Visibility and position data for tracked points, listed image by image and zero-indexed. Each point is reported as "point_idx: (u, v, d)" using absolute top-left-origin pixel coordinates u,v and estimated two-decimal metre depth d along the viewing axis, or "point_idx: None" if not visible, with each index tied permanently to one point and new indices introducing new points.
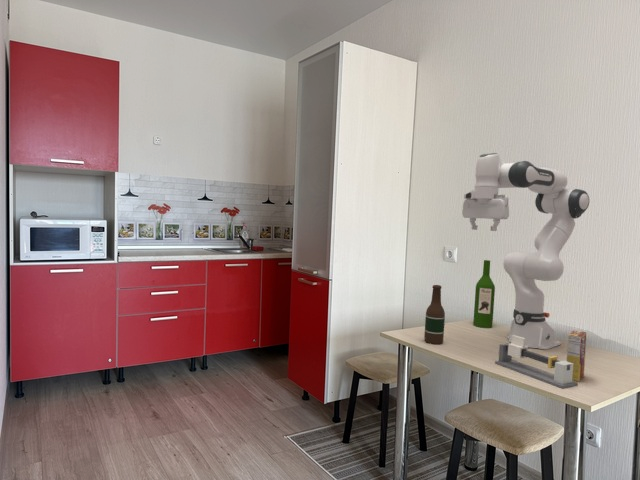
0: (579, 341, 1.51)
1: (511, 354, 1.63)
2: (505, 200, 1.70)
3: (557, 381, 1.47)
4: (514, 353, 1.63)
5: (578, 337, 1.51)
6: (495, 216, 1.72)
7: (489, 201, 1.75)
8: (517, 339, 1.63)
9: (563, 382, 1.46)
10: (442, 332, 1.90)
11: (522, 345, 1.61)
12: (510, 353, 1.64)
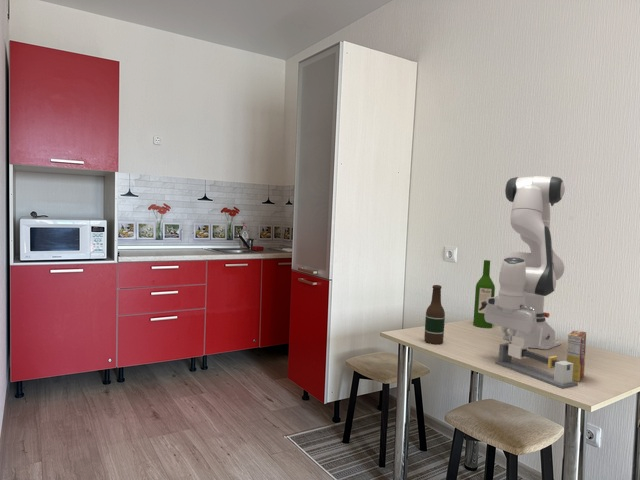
0: (579, 341, 1.51)
1: (511, 354, 1.63)
2: (533, 314, 1.58)
3: (557, 381, 1.47)
4: (514, 353, 1.62)
5: (578, 337, 1.51)
6: (521, 330, 1.60)
7: (515, 312, 1.62)
8: (518, 339, 1.63)
9: (563, 382, 1.46)
10: (442, 332, 1.90)
11: (522, 345, 1.61)
12: (510, 353, 1.64)
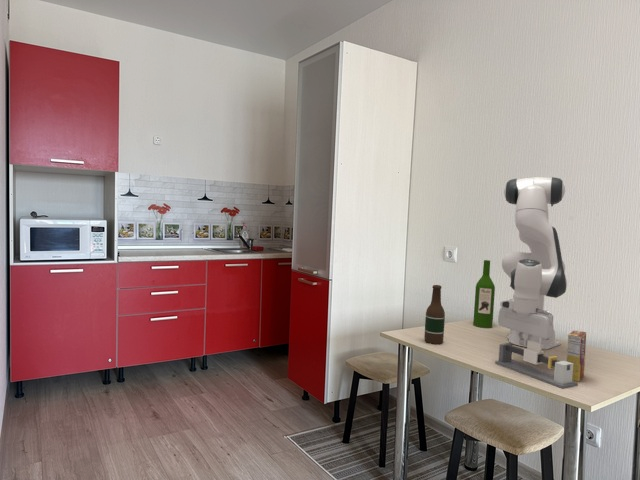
0: (579, 341, 1.51)
1: (527, 359, 1.58)
2: (549, 318, 1.52)
3: (557, 381, 1.47)
4: (530, 359, 1.57)
5: (578, 337, 1.51)
6: (538, 334, 1.54)
7: (530, 316, 1.57)
8: (534, 344, 1.57)
9: (563, 382, 1.46)
10: (442, 332, 1.90)
11: (538, 350, 1.56)
12: (526, 358, 1.58)
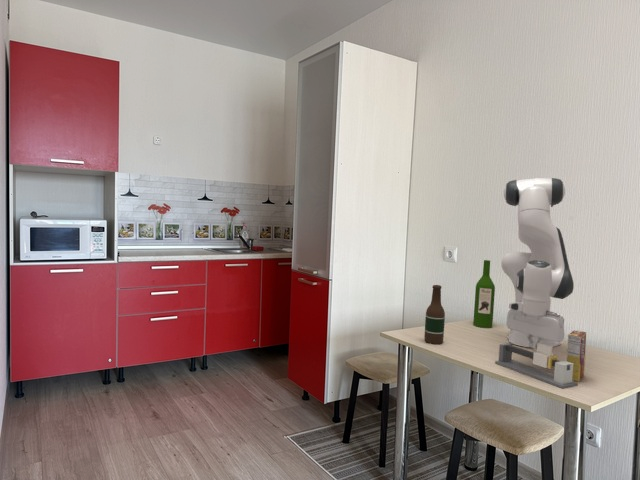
0: (579, 341, 1.51)
1: (537, 363, 1.55)
2: (560, 320, 1.49)
3: (557, 381, 1.47)
4: (540, 362, 1.54)
5: (578, 337, 1.51)
6: (548, 337, 1.51)
7: (540, 318, 1.54)
8: (543, 347, 1.54)
9: (563, 382, 1.46)
10: (442, 332, 1.90)
11: (549, 353, 1.52)
12: (536, 362, 1.55)
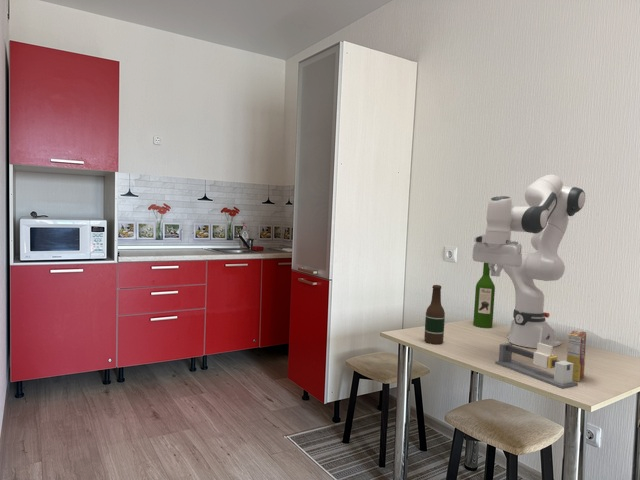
0: (579, 341, 1.51)
1: (537, 363, 1.54)
2: (518, 247, 1.63)
3: (557, 381, 1.47)
4: (540, 362, 1.54)
5: (578, 337, 1.51)
6: (507, 263, 1.66)
7: (501, 247, 1.68)
8: (544, 347, 1.54)
9: (563, 382, 1.46)
10: (442, 332, 1.90)
11: (549, 353, 1.52)
12: (536, 362, 1.55)
